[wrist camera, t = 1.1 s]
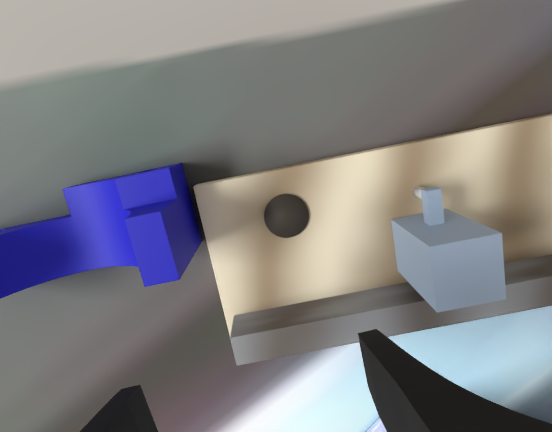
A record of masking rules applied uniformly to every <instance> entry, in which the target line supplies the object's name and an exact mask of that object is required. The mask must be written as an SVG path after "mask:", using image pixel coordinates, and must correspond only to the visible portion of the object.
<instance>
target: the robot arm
mask: <svg viewBox="0 0 552 432" xmlns="http://www.w3.org/2000/svg"><path fill="white" fill-rule="evenodd" d="M358 337H359V342H360V347H361V352H362V357H363V362H364V367H365V372H366V378H367V383H368V387H369V390H370V392H371V395H372V398H373V401H374V403H375V406H376V409H377V411H378V414H379V417H380V418H379V419H378V420H377V421H376V422H375V423H374V424H373V425H372V426H371V427H370V428H369V429H368V430H367V431H366V432H552V424H550V423H547V422H544V421H541V420H538V419H535V418H532V417H529V416H526V415H523V414H521V413H518V412H515V411H513V410H510V409H508V408H505V407H503V406H501V405H498V404H496V403H493V402H491V401H489V400H487V399H484V398H482V397H480V396H478V395H476V394H474V393H472V392H470V391H468V390H466V389H464V388H462V387H460V386H458V385H456V384H454V383H453V382H451V381H449V380H447V379H446V378H444V377H442V376H441V375H439V374H438V373H436V372H434V371H433V370H431V369H430V368H428V367H427V366H425V365H424V364H422V363H421V362H419V361H418V360H417V359H415V358H414V357H412V356H411V355H409V354H408V353H407V352H405V351H404V350H403V349H401V348H400V347H399V346H398V345H396V344H395V343H394V342H393V341H391V340H390V339H389V338H388V337H386V336H385V335H384V334H383V333H382V332H380V331H379V330H377V329H374V330H369V331H365V332H361V333H358ZM80 432H158V430H157V428H156V425H155V423H154V420H153V417H152V415H151V412H150V410H149V407H148V404H147V402H146V399H145V397H144V394H143V391H142V389H141V386H140V385H137V386H133V387H129V388H124V389H121V390H120V391H119V392H118V393H117V394H116V395H115V396H114V397H113V398H112V399H111V400H110V401H109V402H108V403H107V404H106V405H105V406H104V407H103V408H102V409H101V410H100V411H99V412H98V413H97V414H96V415H95V416H94V417H93V418H92V419H91V421H90V422H89V423H88V424H87V425H86V426H85V427H84V428H83V429H82V430H81V431H80Z"/></svg>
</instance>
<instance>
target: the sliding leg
mask: <svg viewBox="0 0 552 432" xmlns="http://www.w3.org/2000/svg"><path fill="white" fill-rule="evenodd" d="M413 195H414V196H415V197H417V198H419V199H422V206H423V213H421V214H416V215H411V216H406V217H401V218H396V219H391V224H392V232H393V239H394V247H395V254H396V262H397V269H398V272H399V273H400V274H401V275H402V276H403V277H404V278H405V279H406V280H407V281H408V282H409V283H410V284H411V286H412V287H413V288H414V289H415V290H416V291H417V292H418V293H419V294H420V295H421V296H422V297H423V298H424V299H425V300H426V301H427V303H428V304H429V305H430V306H431V307H432V308H433V309H434V310H435V311H436V312H437V313H438V312H443V311H448V310H453V309H459V308H464V307H469V306H474V305H479V304H485V303H490V302H495V301H500V300H506V288H505V272H504V257H503V242H502V233H501V232H498V231H496V230H494V229H492V228H489V227H487V226H485V225H482V224H480V223H478V222H475V221H473V220H471V219H469V218H466V217H464V216H462V215H459V214H457V213H455V212H452V211H450V210H448V209H443V201H442V191H441V188H438V187H430V188H424V187H421V186H416V187H415V188H414V189H413Z"/></svg>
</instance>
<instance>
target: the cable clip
mask: <svg viewBox="0 0 552 432" xmlns="http://www.w3.org/2000/svg"><path fill="white" fill-rule="evenodd" d="M62 190H63V193H64V196H65V199H66V202H67V205H68V208H69V211H70V214H71V215H66V216H61V217H56V218H52V219H47V220H42V221H37V222H33V223H28V224H23V225H18V226H13V227H9V228H4V229H0V299H1V298H3V297H5V296H8V295H10V294H13V293H15V292H18V291H21V290H23V289H26V288H29V287H32V286H35V285H38V284H41V283H44V282H47V281H50V280H53V279H57V278H60V277H64V276H67V275H71V274H75V273H79V272H83V271H88V270H93V269H98V268H104V267H112V266H137V267H139V270H140V273H141V276H142V280H143V283H144V286H145V287H146V286H151V285H156V284H161V283H166V282H171V281H176V280H180V278H181V276H182V274H183V273H184V271H185V269H186V268H187V266H188V264H189V262H190V261H191V259H192V257H193V256H194V254H195V252H196V250H197V249H198V247H199V245H200V244H201V242H202V239H201V235H200V231H199V227H198V223H197V219H196V216H195V212H194V208H193V204H192V200H191V196H190V193H189V189H188V185H187V181H186V177H185V173H184V170H183V166H182V163H179V164H174V165H170V166H165V167H160V168H155V169H151V170H146V171H141V172H137V173H132V174H127V175H122V176H118V177H113V178H108V179H103V180H99V181H94V182H89V183H84V184H80V185H75V186H71V187H68V188H64V189H62Z"/></svg>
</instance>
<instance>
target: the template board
mask: <svg viewBox="0 0 552 432" xmlns="http://www.w3.org/2000/svg"><path fill="white" fill-rule="evenodd" d="M416 186H421V187H424V188H430V187H438V188H441V191H442V201H443V209H448V210H450V211H452V212H455V213H457V214H459V215H462V216H464V217H466V218H469V219H471V220H473V221H475V222H478V223H480V224H482V225H485V226H487V227H489V228H492V229H494V230H496V231H498V232H501V233H502V242H503V257H504V272H505V288H506V300H500V301H495V302H490V303H485V304H479V305H474V306H469V307H464V308H459V309H453V310H448V311H443V312H438V313H437V312H436V311H435V310H434V309H433V308H432V307H431V306H430V305H429V304H428V303H427V301H426V300H425V299H424V298H423V297H422V296H421V295H420V294H419V293H418V292H417V291H416V290H415V289H414V288H413V287H412V286H411V284H410V283H409V282H408V281H407V280H406V279H405V278H404V277H403V276H402V275H401V274H400V273H399V272H398V269H397V262H396V254H395V247H394V239H393V232H392V224H391V219H396V218H401V217H406V216H411V215H416V214H421V213H423V206H422V199H419V198H417V197H415V196H414V195H413V189H414V188H415V187H416ZM193 188H194V192H195V197H196V201H197V205H198V209H199V213H200V217H201V221H202V225H203V229H204V233H205V237H206V241H207V245H208V249H209V253H210V257H211V261H212V265H213V270H214V274H215V278H216V282H217V286H218V290H219V294H220V298H221V302H222V306H223V310H224V314H225V318H226V322H227V326H228V330H229V334H230V340H231V344H232V348H233V352H234V356H235V360H236V364H237V365H242V364H248V363H253V362H258V361H263V360H269V359H274V358H279V357H284V356H290V355H295V354H300V353H305V352H310V351H316V350H321V349H326V348H331V347H337V346H342V345H347V344H352V343H358V342H359V337H358V333H361V332H365V331H369V330H374V329H377V330H379V331H380V332H382V333H383V334H384V335H385V336H386V337H389V336H394V335H399V334H405V333H410V332H415V331H420V330H426V329H431V328H436V327H441V326H447V325H452V324H457V323H462V322H468V321H473V320H478V319H483V318H489V317H494V316H499V315H504V314H509V313H515V312H520V311H525V310H530V309H536V308H541V307H546V306H551V305H552V113H551V114H546V115H541V116H536V117H531V118H526V119H521V120H516V121H511V122H506V123H501V124H496V125H491V126H486V127H481V128H476V129H471V130H466V131H461V132H456V133H451V134H446V135H441V136H436V137H431V138H426V139H421V140H416V141H411V142H406V143H401V144H396V145H391V146H386V147H380V148H375V149H370V150H365V151H360V152H355V153H350V154H345V155H340V156H335V157H330V158H325V159H320V160H315V161H310V162H305V163H300V164H295V165H290V166H285V167H280V168H275V169H270V170H265V171H260V172H255V173H250V174H245V175H240V176H235V177H230V178H225V179H220V180H215V181H210V182H205V183H200V184H196V185H195V186H193Z"/></svg>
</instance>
